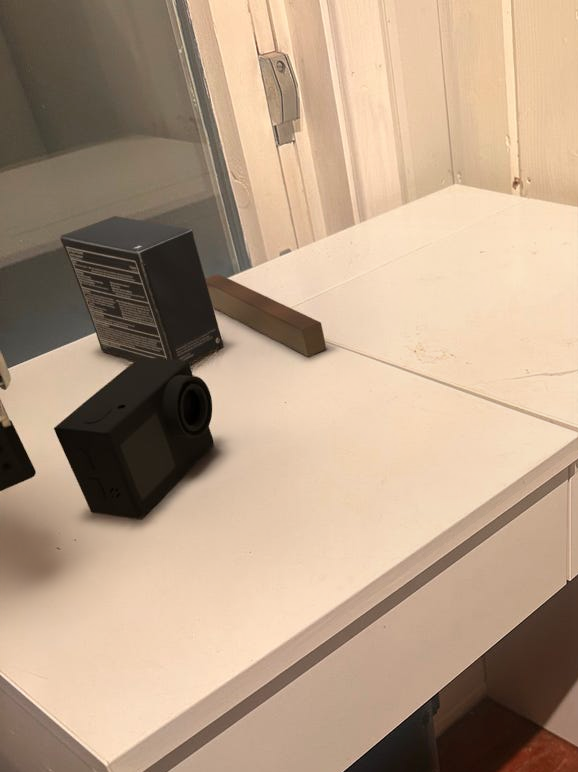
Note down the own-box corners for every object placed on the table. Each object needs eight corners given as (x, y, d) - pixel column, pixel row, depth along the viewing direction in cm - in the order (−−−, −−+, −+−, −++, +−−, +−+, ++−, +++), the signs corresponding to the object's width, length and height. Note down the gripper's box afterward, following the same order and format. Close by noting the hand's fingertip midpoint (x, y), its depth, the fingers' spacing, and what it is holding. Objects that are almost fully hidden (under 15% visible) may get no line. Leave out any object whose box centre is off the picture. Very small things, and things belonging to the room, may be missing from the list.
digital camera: (155, 522, 63) (120, 434, 59) (90, 513, 65) (51, 426, 60) (228, 445, 70) (203, 360, 66) (168, 438, 72) (139, 355, 67)
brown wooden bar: (208, 305, 91) (200, 280, 89) (225, 298, 92) (218, 273, 90) (308, 357, 81) (302, 330, 79) (326, 349, 82) (321, 322, 80)
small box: (229, 344, 84) (196, 226, 77) (176, 374, 80) (136, 253, 73) (152, 324, 89) (115, 211, 81) (99, 352, 85) (55, 235, 78)
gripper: (-249, 178, 50) (-83, 464, 63) (-185, 234, 42) (-6, 553, 54) (-109, 143, 54) (22, 421, 66) (-23, 188, 45) (110, 499, 57)
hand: (9, 480), depth 60 cm, fingers closed
